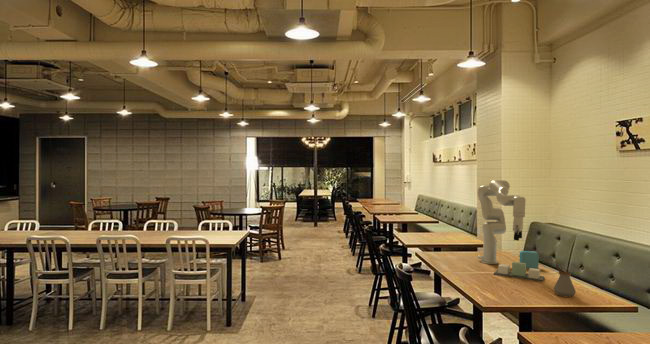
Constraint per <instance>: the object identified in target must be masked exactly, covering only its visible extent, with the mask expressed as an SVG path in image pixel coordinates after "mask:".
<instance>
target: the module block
mask: <svg viewBox="0 0 650 344" xmlns="http://www.w3.org/2000/svg"><path fill="white" fill-rule="evenodd" d="M511 271H512V275H519V276H525V275H526V274H527V268H526V263H520V261H512V262H511Z"/></svg>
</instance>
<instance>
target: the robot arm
mask: <svg viewBox="0 0 650 344" xmlns="http://www.w3.org/2000/svg"><path fill="white" fill-rule="evenodd" d="M509 190H510V183H509V182H508V181H507V180H505V179H504V180H503V179H501V180H500V179H499V180H497V179H496V180H495V179H493V180H492V181H490V182H489V184H488V185H487V184H486V185H485V184H484V185H481V186H479V187H478V189H477V197H478V200H479V203H480V208H481V212H482V213H481V214H482V217H483V220H485V222H483V224H482V227H481V228H482V233H483V242H482V244H483V247H482V249H483V250H482V255H477V259H479V260H480V262H481V263H483V264H488V265H497V264H498V263H499V261H498V260H497V245H498V244H497V238H496V236H495V235H504V234H505V233H506V232H507V224H506V218H505V214H504V210H503V209H502V208H499V207H494V205H493V201H492V200H491V199H490V198H489V197H496V201H497V202H498V204H500V205H502V206H504V207H512V210H513V211H512V217H513V221H512V222H513V223H512V232H513V241H519V240H520V239H522V238H523V229H524V218H525V217H526V201H527V199H526V197H524V196H520V195H514V194H509ZM508 194H509V195H508ZM498 265H499V264H498Z"/></svg>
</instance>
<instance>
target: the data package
mask: <svg viewBox="0 0 650 344" xmlns="http://www.w3.org/2000/svg"><path fill="white" fill-rule="evenodd" d="M539 256H540V254H539V252H537V251H533V250H532V251H531V250H521V251H519V262H520V263H526V269H530V268H535V269H539V261H540V257H539Z"/></svg>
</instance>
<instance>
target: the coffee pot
mask: <svg viewBox="0 0 650 344" xmlns="http://www.w3.org/2000/svg"><path fill="white" fill-rule="evenodd" d="M554 267H556V268H557V271H558V274H559V277H558V278H557V281H556V282H555V284H554V287H552V288H553V289H552V290H553V292H554V293H555V294H556V295H557V294H558V295H557V296H559V295H562V296H561V297H563V296H574V295H576V288H575V286H574V284H573V281H572V279H571V275H572V273H571V272H567V271H561V269H560V267H559V264H557V263H555V264H554Z"/></svg>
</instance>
